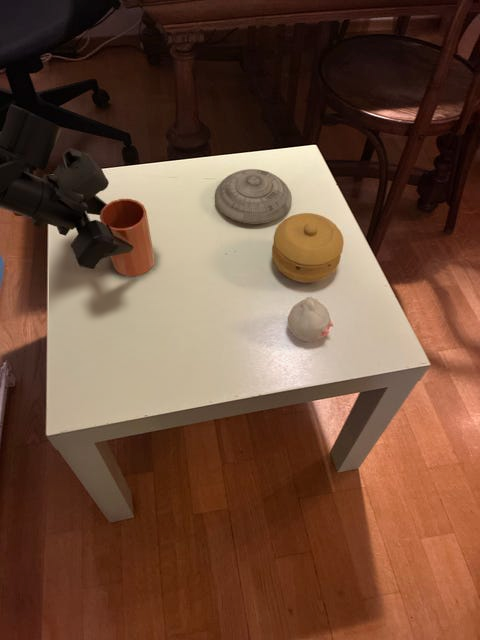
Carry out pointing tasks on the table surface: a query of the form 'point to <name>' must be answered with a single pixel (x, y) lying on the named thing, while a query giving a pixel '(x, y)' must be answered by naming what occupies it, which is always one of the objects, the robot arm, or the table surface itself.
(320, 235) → the pot
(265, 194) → the flying saucer
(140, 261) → the tumbler
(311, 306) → the figurine
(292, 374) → the table surface
